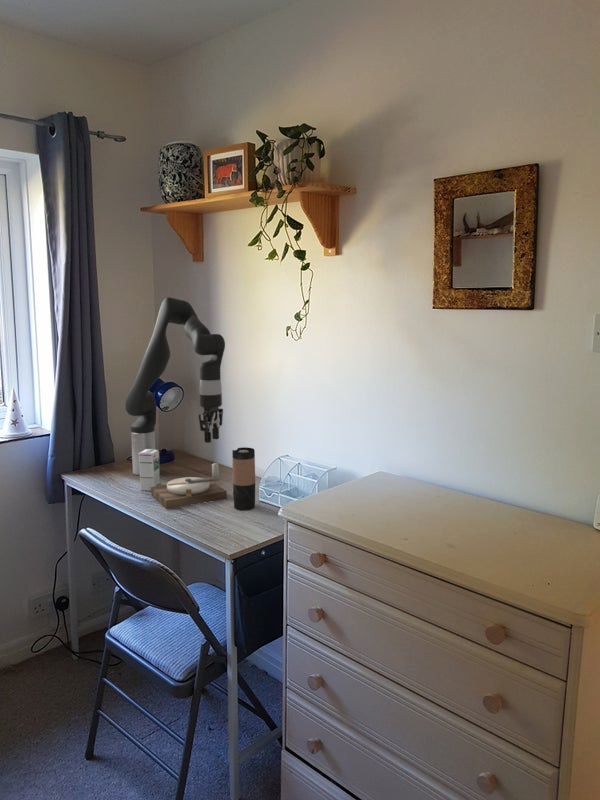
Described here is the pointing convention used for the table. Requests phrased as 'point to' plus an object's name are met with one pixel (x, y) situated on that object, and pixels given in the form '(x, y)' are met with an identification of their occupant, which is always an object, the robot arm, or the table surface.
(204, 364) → the robot arm
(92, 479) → the table surface
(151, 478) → the syrup box
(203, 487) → the dial
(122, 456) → the table surface
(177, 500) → the dial stand
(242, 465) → the travel mug
